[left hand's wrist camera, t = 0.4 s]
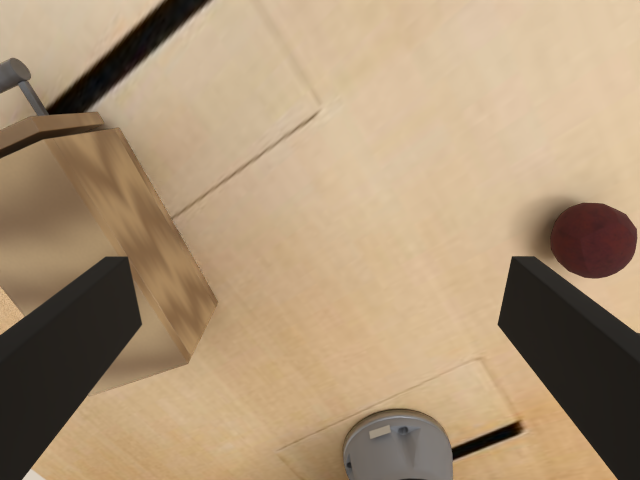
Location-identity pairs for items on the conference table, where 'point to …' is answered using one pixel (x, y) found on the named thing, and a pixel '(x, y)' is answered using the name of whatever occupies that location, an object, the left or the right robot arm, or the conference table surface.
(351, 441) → the right robot arm
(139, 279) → the cabinet
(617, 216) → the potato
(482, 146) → the conference table surface
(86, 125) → the drawer
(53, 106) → the conference table surface
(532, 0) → the conference table surface
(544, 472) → the conference table surface
